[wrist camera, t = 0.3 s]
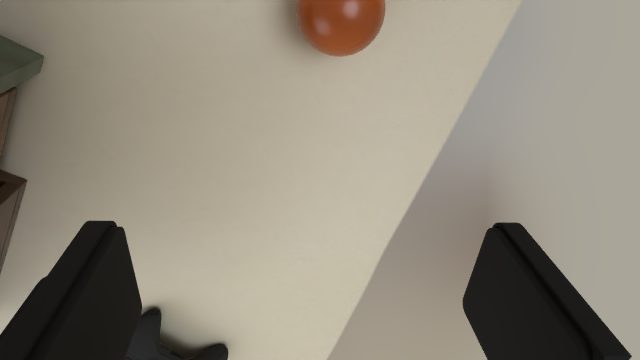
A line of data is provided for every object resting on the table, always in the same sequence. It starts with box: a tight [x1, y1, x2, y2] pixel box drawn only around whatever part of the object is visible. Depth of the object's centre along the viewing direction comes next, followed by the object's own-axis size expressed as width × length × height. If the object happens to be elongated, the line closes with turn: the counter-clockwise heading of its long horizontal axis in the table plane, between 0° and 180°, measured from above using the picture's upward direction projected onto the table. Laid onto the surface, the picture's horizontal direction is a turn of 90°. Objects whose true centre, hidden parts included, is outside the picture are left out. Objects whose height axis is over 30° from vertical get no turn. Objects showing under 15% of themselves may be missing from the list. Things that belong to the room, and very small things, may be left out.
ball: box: [296, 0, 385, 56], centre depth 22 cm, size 5×5×5 cm
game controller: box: [124, 309, 228, 360], centre depth 38 cm, size 10×5×6 cm
